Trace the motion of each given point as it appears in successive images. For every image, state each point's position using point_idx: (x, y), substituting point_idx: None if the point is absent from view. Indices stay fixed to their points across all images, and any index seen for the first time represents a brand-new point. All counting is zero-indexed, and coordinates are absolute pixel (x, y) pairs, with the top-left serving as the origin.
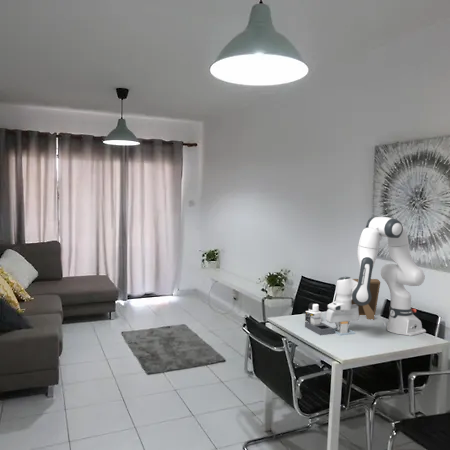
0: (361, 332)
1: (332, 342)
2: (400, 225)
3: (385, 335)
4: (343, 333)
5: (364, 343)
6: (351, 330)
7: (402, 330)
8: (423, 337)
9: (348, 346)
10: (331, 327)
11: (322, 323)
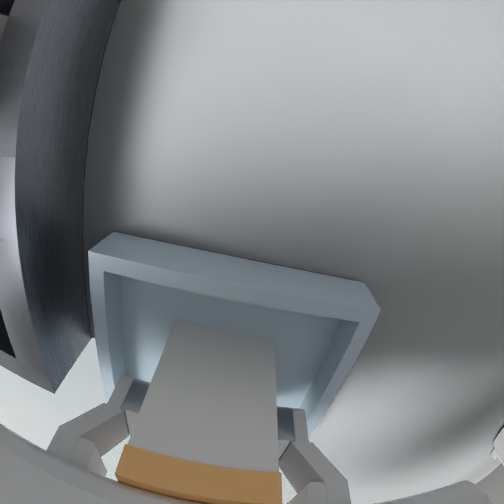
0: (427, 391)
1: (30, 398)
2: None
3: (450, 449)
4: None
5: None
6: (315, 426)
7: (502, 457)
8: (491, 463)
9: None
10: (38, 357)
11: (2, 122)
